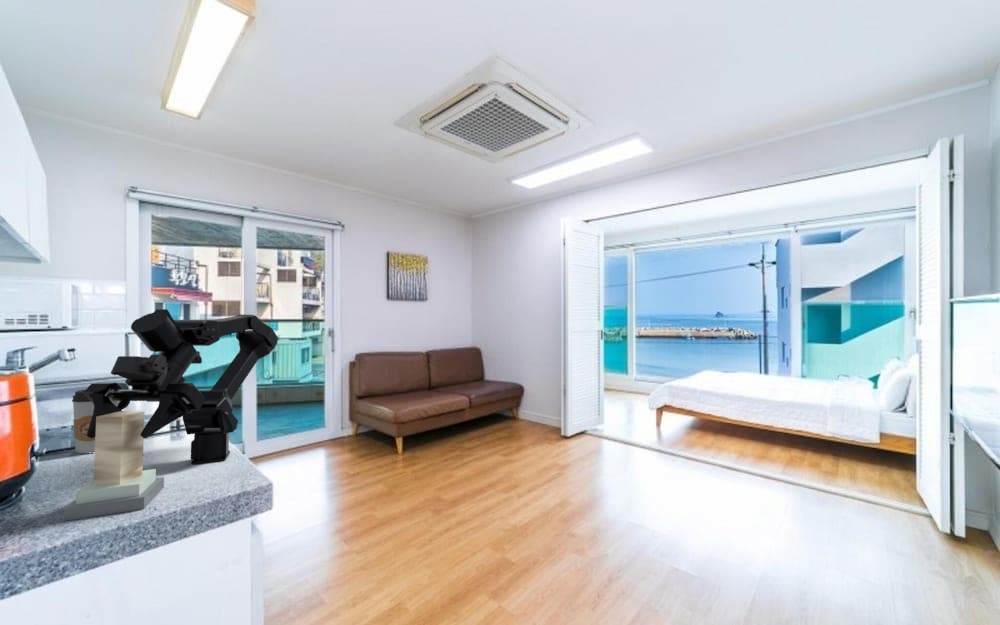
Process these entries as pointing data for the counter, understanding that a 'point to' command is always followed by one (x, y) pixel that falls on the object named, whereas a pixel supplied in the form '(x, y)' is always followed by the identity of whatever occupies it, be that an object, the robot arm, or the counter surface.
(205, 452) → the robot arm
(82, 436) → the coffee cup
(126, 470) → the pillar
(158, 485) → the tower base
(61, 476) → the counter surface
